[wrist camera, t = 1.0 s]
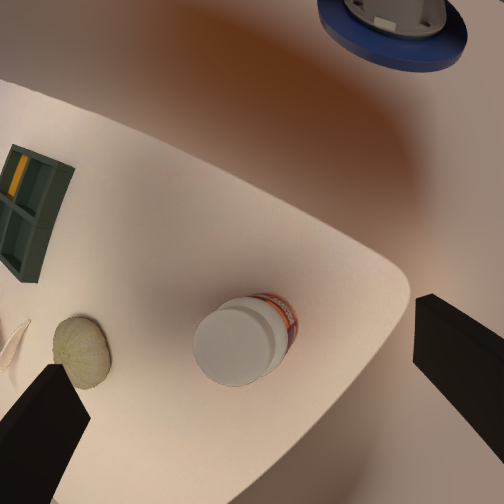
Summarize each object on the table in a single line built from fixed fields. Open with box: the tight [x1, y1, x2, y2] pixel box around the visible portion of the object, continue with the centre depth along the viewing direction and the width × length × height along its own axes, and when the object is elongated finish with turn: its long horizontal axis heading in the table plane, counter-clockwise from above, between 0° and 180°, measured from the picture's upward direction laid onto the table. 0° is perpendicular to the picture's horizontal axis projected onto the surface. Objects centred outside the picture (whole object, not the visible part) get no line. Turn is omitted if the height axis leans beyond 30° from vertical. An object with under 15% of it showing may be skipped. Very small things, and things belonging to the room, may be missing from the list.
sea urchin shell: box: [53, 317, 110, 390], centre depth 33 cm, size 9×8×8 cm
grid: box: [0, 144, 75, 283], centre depth 39 cm, size 18×18×3 cm
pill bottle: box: [193, 293, 298, 386], centre depth 24 cm, size 6×6×11 cm
